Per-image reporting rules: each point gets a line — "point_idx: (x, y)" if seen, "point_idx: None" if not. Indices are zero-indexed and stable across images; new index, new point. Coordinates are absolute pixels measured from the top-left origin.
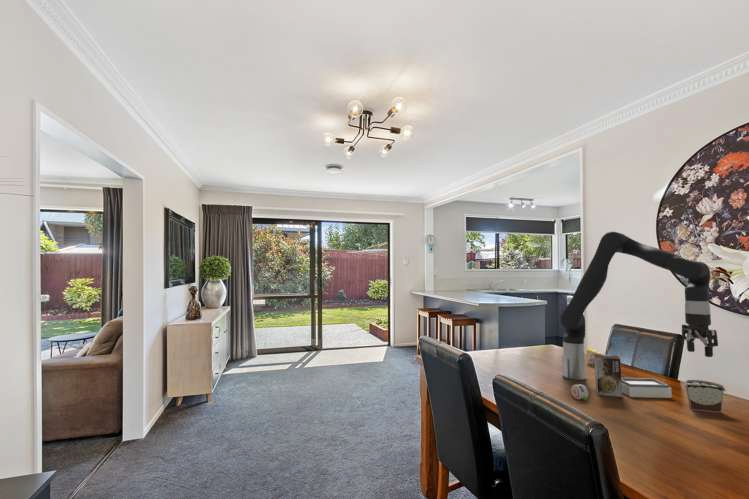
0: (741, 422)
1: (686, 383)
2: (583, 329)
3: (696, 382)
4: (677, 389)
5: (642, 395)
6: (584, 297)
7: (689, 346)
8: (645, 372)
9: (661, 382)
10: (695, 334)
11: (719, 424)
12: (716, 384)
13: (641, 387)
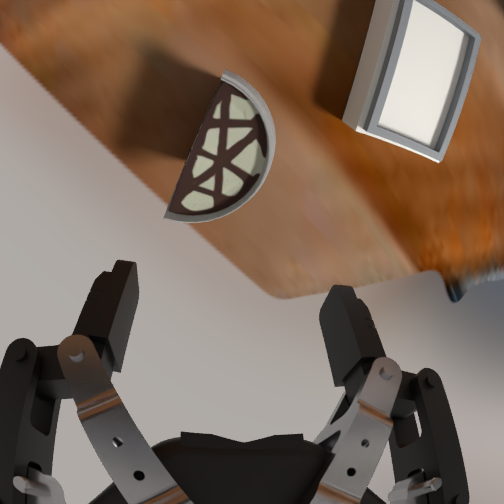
0: (111, 150)
1: (223, 78)
2: None
3: (257, 169)
4: (392, 219)
5: (373, 23)
6: None
7: (346, 325)
8: (486, 258)
9: (401, 138)
10: (250, 487)
11: (96, 70)
12: (200, 218)
13: (389, 19)
